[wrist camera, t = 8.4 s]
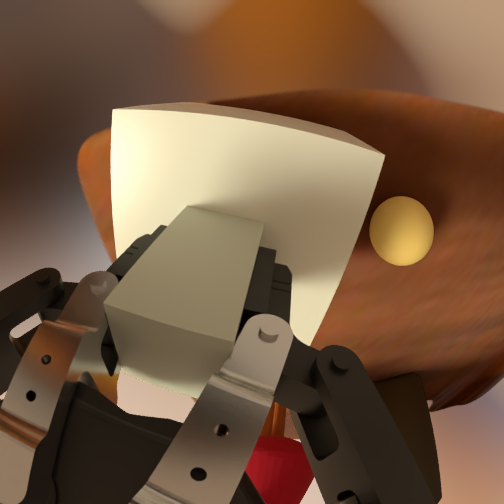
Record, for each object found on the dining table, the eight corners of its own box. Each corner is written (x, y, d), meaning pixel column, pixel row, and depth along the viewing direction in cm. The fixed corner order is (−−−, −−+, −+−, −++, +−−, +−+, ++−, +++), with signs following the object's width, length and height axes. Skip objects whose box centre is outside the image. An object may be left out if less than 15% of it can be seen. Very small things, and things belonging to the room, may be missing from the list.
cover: (344, 131, 16) (478, 227, 3) (305, 264, 22) (302, 452, 9) (188, 102, 16) (-9, 141, 4) (176, 235, 22) (72, 384, 9)
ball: (426, 197, 18) (455, 224, 14) (405, 250, 21) (425, 285, 17) (374, 179, 18) (396, 202, 14) (354, 236, 21) (367, 272, 17)
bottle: (420, 367, 29) (445, 539, 8) (408, 414, 36) (418, 536, 15) (364, 381, 31) (370, 559, 10) (366, 424, 38) (367, 547, 17)
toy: (188, 337, 30) (104, 576, 5) (272, 312, 26) (213, 633, 1) (285, 427, 41) (263, 576, 15) (344, 416, 37) (337, 579, 11)
